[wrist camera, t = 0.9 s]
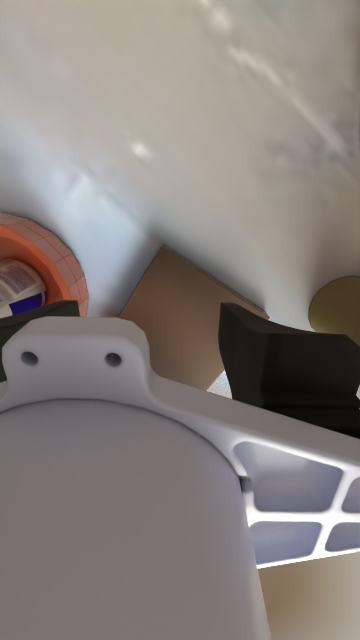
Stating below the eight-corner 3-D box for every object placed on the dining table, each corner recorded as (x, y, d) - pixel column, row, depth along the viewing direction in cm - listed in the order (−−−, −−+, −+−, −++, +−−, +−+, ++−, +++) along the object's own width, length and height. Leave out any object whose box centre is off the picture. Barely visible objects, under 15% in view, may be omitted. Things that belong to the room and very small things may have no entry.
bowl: (57, 367, 27) (38, 394, 24) (-69, 306, 25) (-112, 325, 21) (112, 267, 23) (99, 281, 19) (-32, 180, 20) (-79, 177, 17)
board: (152, 444, 32) (151, 453, 31) (64, 403, 29) (60, 412, 28) (266, 312, 25) (270, 317, 23) (162, 244, 22) (160, 246, 21)
